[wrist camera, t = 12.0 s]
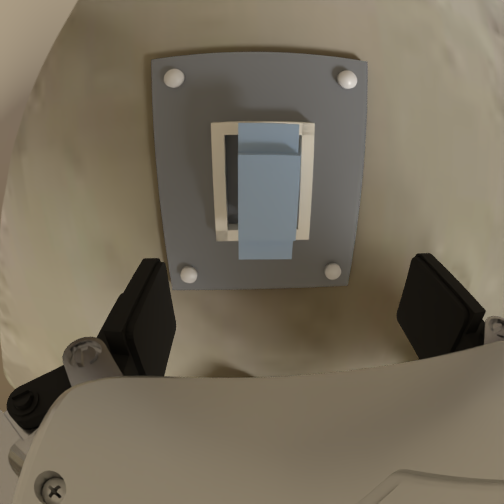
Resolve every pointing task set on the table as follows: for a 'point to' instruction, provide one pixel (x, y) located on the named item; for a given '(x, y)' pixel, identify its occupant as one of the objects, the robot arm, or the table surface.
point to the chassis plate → (226, 163)
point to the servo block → (267, 189)
